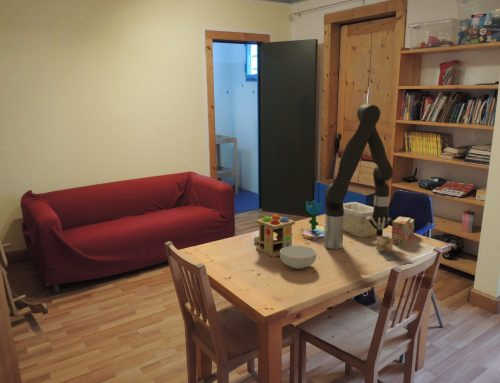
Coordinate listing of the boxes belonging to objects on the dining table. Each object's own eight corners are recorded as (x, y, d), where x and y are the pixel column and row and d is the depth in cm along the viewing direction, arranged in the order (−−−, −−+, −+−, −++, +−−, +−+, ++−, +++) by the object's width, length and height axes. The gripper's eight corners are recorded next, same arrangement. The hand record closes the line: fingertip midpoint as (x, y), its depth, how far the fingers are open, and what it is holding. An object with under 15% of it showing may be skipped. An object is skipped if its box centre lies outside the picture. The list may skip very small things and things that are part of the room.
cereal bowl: (323, 268, 189) (324, 253, 188) (293, 275, 181) (294, 260, 180) (301, 256, 204) (301, 242, 202) (272, 263, 196) (272, 248, 194)
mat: (387, 260, 197) (387, 260, 197) (375, 248, 214) (375, 248, 214) (401, 260, 197) (401, 260, 197) (389, 248, 214) (389, 247, 214)
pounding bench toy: (245, 245, 220) (245, 212, 217) (266, 239, 229) (266, 208, 225) (274, 257, 203) (274, 222, 199) (295, 251, 211) (295, 217, 208)
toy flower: (312, 235, 235) (313, 204, 231) (302, 231, 242) (302, 201, 238) (324, 233, 239) (325, 202, 236) (314, 229, 247) (314, 199, 243)
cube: (380, 251, 208) (380, 240, 207) (376, 247, 214) (377, 236, 213) (392, 251, 208) (392, 240, 207) (387, 247, 214) (388, 236, 213)
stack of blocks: (402, 233, 238) (403, 212, 236) (413, 235, 235) (415, 214, 232) (390, 243, 221) (392, 221, 219) (402, 245, 218) (404, 223, 215)
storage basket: (333, 227, 250) (333, 204, 247) (354, 224, 257) (355, 201, 254) (359, 239, 229) (361, 213, 226) (382, 234, 236) (383, 209, 233)
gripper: (370, 206, 211) (369, 238, 215) (396, 205, 211) (394, 238, 215) (366, 202, 218) (364, 233, 222) (391, 202, 219) (389, 233, 222)
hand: (379, 235), depth 219 cm, fingers closed
